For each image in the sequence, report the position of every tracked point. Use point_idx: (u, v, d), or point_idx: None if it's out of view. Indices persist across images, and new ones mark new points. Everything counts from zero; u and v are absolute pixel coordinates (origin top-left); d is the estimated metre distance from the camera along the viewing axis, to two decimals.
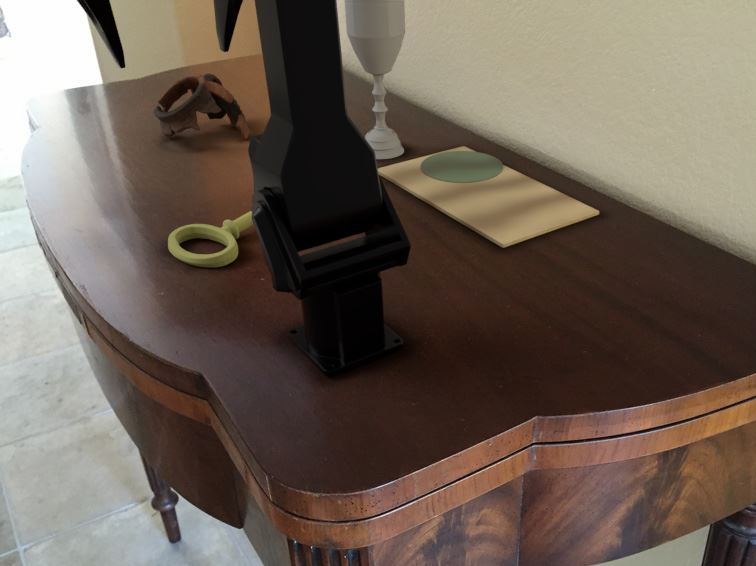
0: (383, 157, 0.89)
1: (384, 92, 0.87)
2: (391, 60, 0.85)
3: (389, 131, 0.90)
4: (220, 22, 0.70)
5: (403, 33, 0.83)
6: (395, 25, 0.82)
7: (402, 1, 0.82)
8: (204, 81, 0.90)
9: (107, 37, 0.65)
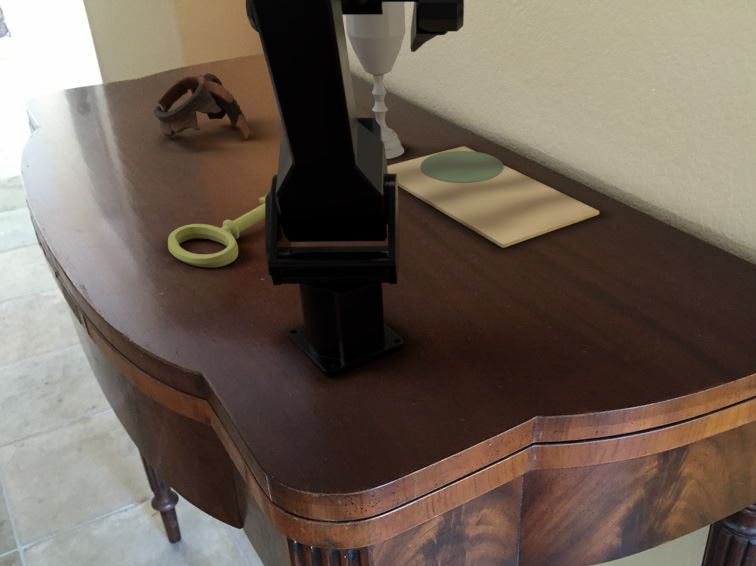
0: None
1: (384, 92, 0.87)
2: (391, 60, 0.85)
3: (389, 131, 0.90)
4: (411, 34, 0.75)
5: (403, 33, 0.83)
6: (395, 25, 0.82)
7: None
8: (204, 81, 0.90)
9: None
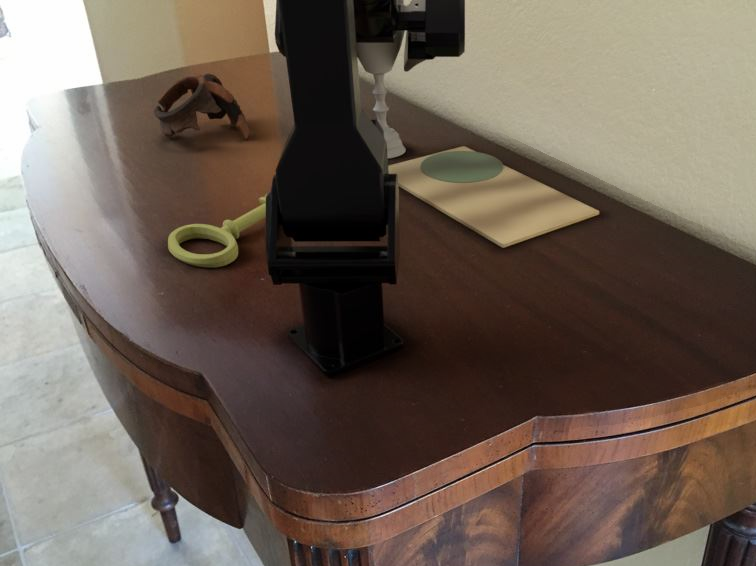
0: None
1: (385, 91, 0.87)
2: (391, 59, 0.85)
3: (390, 131, 0.90)
4: (404, 57, 0.85)
5: (403, 32, 0.83)
6: None
7: (401, 0, 0.82)
8: (204, 81, 0.90)
9: None
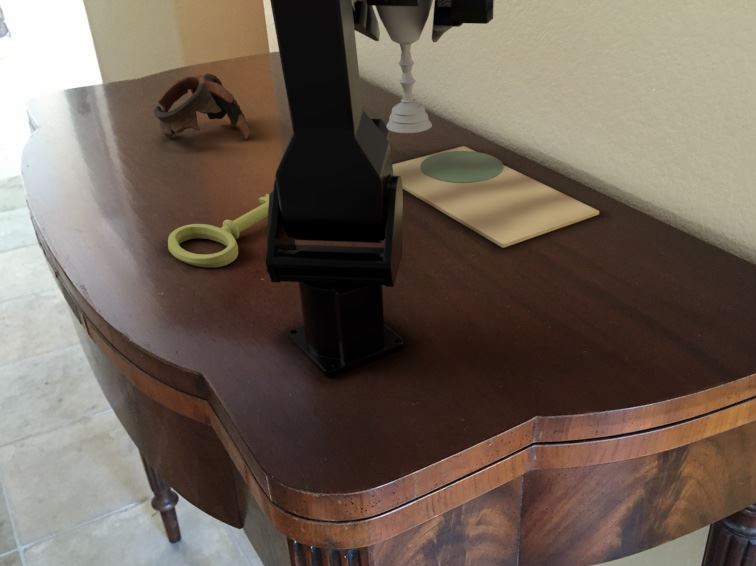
0: (409, 131, 0.86)
1: (411, 62, 0.84)
2: (418, 28, 0.81)
3: (416, 104, 0.86)
4: (432, 26, 0.81)
5: None
6: None
7: None
8: (204, 81, 0.90)
9: (363, 34, 0.81)
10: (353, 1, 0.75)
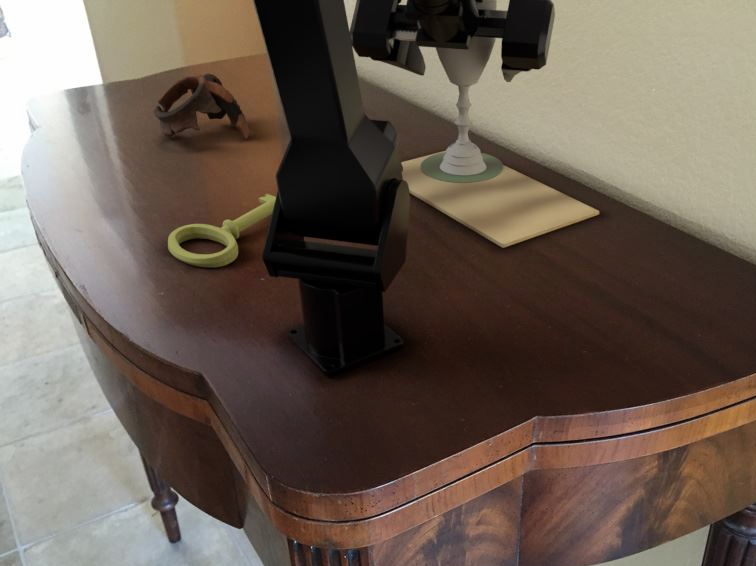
0: (460, 174, 0.84)
1: (468, 105, 0.82)
2: (476, 71, 0.79)
3: (471, 146, 0.84)
4: None
5: (491, 43, 0.78)
6: None
7: (492, 9, 0.76)
8: (204, 81, 0.90)
9: (405, 69, 0.81)
10: (390, 39, 0.75)
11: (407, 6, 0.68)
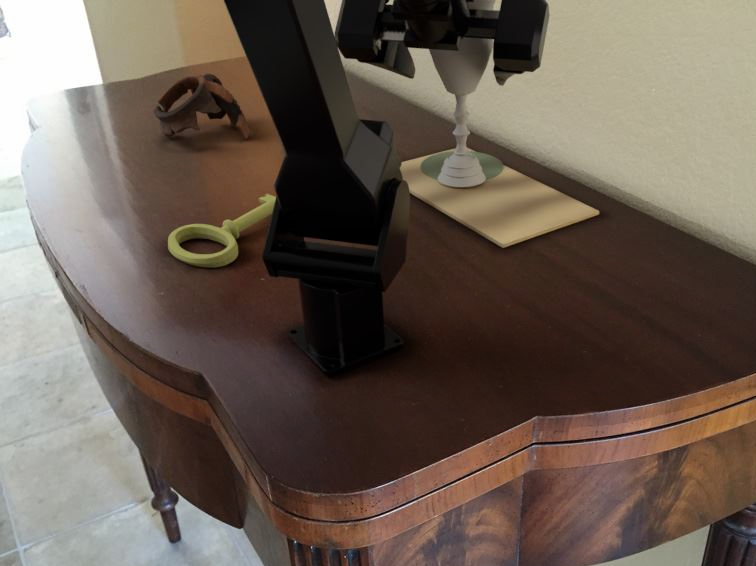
0: (458, 185, 0.81)
1: (466, 114, 0.79)
2: (473, 80, 0.76)
3: (470, 157, 0.82)
4: None
5: (488, 50, 0.75)
6: (478, 41, 0.74)
7: None
8: (204, 81, 0.90)
9: None
10: (377, 40, 0.71)
11: (394, 5, 0.65)
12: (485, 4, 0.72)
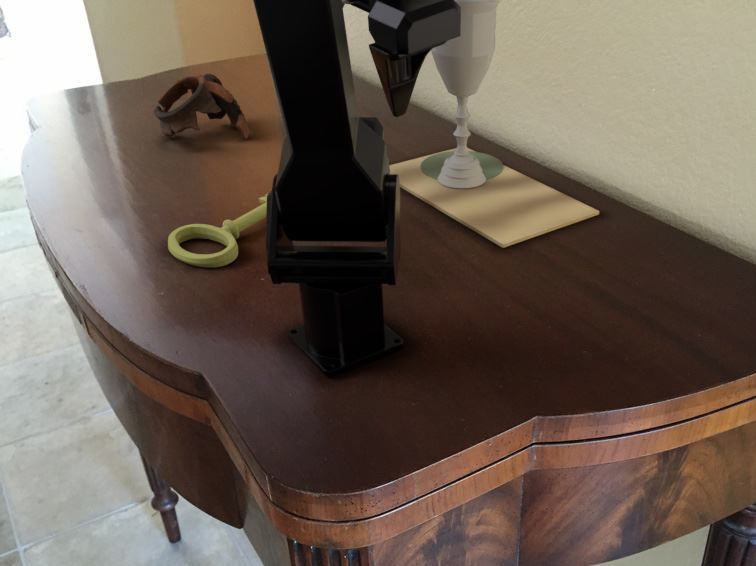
0: (458, 186, 0.81)
1: (467, 116, 0.79)
2: (475, 82, 0.76)
3: (470, 158, 0.82)
4: None
5: (490, 53, 0.75)
6: (480, 43, 0.73)
7: (491, 18, 0.73)
8: (204, 81, 0.90)
9: None
10: None
11: None
12: (488, 7, 0.72)
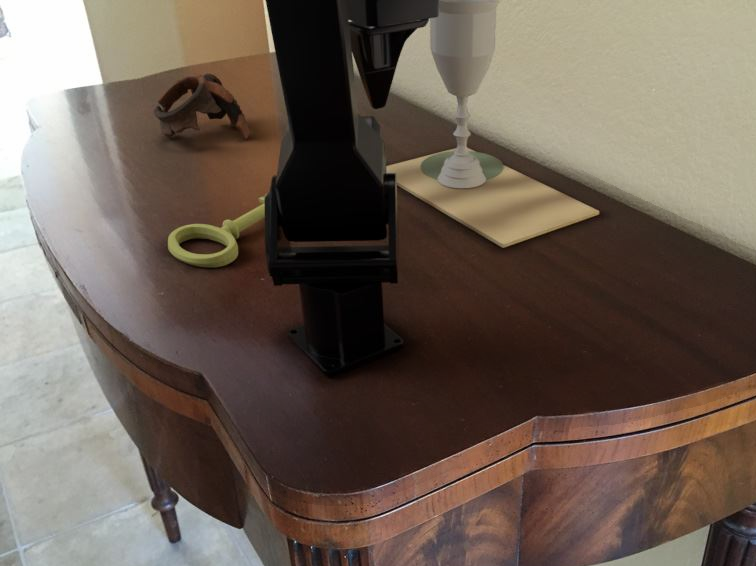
0: (458, 186, 0.81)
1: (467, 116, 0.79)
2: (475, 82, 0.76)
3: (470, 158, 0.82)
4: None
5: (490, 53, 0.75)
6: (480, 43, 0.73)
7: (491, 18, 0.73)
8: (204, 81, 0.90)
9: None
10: None
11: None
12: (488, 7, 0.72)
